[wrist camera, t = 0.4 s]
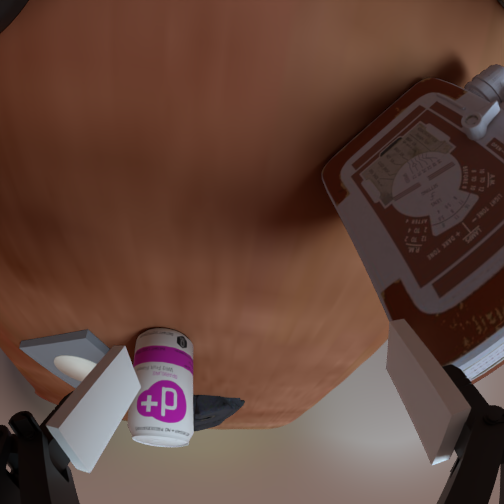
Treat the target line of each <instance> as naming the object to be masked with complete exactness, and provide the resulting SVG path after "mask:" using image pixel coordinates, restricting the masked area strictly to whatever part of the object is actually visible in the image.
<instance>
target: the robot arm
mask: <svg viewBox="0 0 504 504" xmlns="http://www.w3.org/2000/svg"><path fill="white" fill-rule="evenodd" d="M27 1H28V0H0V32H1V31H3V30H4V29H5V28H6V27H7V26H8V25H9V24H10V23H11V22H12V20H13V19H14V18H15V17H16V16H17V15H18V13H19V12H20V11H21V10H22V8H23V7H24V6H25V4H26V3H27ZM386 369H387V371H388V373H389V375H390V377H391V379H392V381H393V383H394V385H395V387H396V389H397V391H398V393H399V395H400V397H401V399H402V401H403V403H404V405H405V407H406V409H407V411H408V414H409V416H410V418H411V420H412V422H413V424H414V426H415V429H416V431H417V433H418V435H419V438H420V440H421V442H422V444H423V446H424V449H425V451H426V453H427V455H428V458H429V460H430V463H431V465H434V464H437V463H440V462H443V461H445V460H448V459H450V457H451V455H452V453H453V451H454V450H455V452H456V453H457V456H458V457H457V460H456V461H455V463H454V466H453V467H452V469H451V471H450V472H451V474H450V476H449V479H448V481H447V483H446V485H445V487H444V490H443V492H442V494H441V496H440V498H439V500H438V502H437V504H488V502H489V499H490V496H491V493H492V490H493V487H494V484H495V480H496V477H497V473H498V470H499V466H500V464H501V475H500V477H501V478H500V499H499V504H504V409H502V408H501V407H499V406H496V405H492V406H491V405H489V404H488V403H487V402H486V401H485V399H484V398H483V397H482V395H481V394H480V393H479V391H478V390H477V389H476V388H475V386H474V385H473V384H472V382H471V381H470V380H469V379H468V378H467V376H466V375H465V374H464V372H463V371H462V370H461V369H460V368H458V367H456V366H454V365H453V364H450V365H446V366H443V367H442V366H441V365H440V364H439V362H438V361H437V360H436V359H435V357H434V356H433V355H432V353H431V352H430V351H429V349H428V348H427V347H426V346H425V344H424V343H423V342H422V341H421V339H420V338H419V337H418V335H417V334H416V333H415V332H414V330H413V329H412V328H411V327H410V326H409V324H408V323H407V322H406V321H405V319H400V320H394V321H389V338H388V353H387V365H386ZM140 388H141V385H140V383H139V380H138V378H137V375H136V373H135V370H134V368H133V365H132V362H131V360H130V357H129V354H128V351H127V349H126V346H113V347H112V348H111V349H110V350H109V351H108V352H107V354H106V355H105V356H104V357H103V358H102V359H101V360H100V361H99V363H98V364H97V365H96V366H95V367H94V368H93V369H92V371H91V372H90V373H89V374H88V375H87V376H86V377H85V379H84V380H83V381H82V382H81V383H80V384H79V386H78V387H77V388H76V389H75V390H74V391H72V392H71V393H69V394H68V395H66V396H65V397H64V398H63V399H62V400H61V401H60V403H59V405H57V406H56V407H55V410H53V411H52V412H51V413H50V414H49V416H48V417H47V418H46V419H45V420H44V421H43V423H42V424H41V425H40V426H39V425H38V423H37V422H36V420H35V419H34V417H33V415H32V414H31V413H30V412H28V411H21V412H18V413H16V414H15V415H13V416H12V417H11V419H10V420H9V423H8V424H9V425H10V426H11V428H12V430H13V431H14V433H15V434H11V432H10V431H9V429H8V428H7V427H6V426H5V425H0V504H80V503H79V500H78V496H77V493H76V489H75V485H74V481H73V477H72V473H71V470H70V468H69V467H68V463H69V462H70V461H71V462H72V463H73V465H74V466H75V467H76V469H78V470H81V471H85V472H88V473H90V472H91V470H92V469H93V467H94V466H95V464H96V462H97V461H98V459H99V457H100V455H101V454H102V452H103V450H104V448H105V447H106V445H107V443H108V442H109V440H110V438H111V437H112V435H113V433H114V432H115V430H116V428H117V427H118V425H119V423H120V421H121V420H122V418H123V416H124V415H125V413H126V411H127V410H128V408H129V406H130V405H131V403H132V402H133V400H134V398H135V397H136V395H137V393H138V392H139V390H140ZM7 464H8V466H9V467H10V468H11V472H10V473H9V472H8V471H7V470H6V465H7Z"/></svg>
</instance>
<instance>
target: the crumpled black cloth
mask: <svg viewBox="0 0 504 504" xmlns="http://www.w3.org/2000/svg"><path fill="white" fill-rule="evenodd" d="M244 402H245V401H244V400H240V398H224V397H220V396H208V395H193V425H194V431H199V430H203V429H207V428H210V427H215V426H217V425H220V424H221V423H222V422H223V421H224V420H225V419H226V418H228V417H230V416H231V415H233V414H234V413H235V412H236V411H237V410H239V408H241V407H242V406H243V405H244Z"/></svg>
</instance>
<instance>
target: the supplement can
mask: <svg viewBox="0 0 504 504" xmlns="http://www.w3.org/2000/svg"><path fill="white" fill-rule="evenodd" d="M133 368H134V370H135V373H136V375H137V378H138V380H139V383H140V385H141V388H140V390H139V392H138V393H137V395H136V397H135V398H134V400H133V402H132V403H131V405H130V406H129V412H128V428H129V430H130V432H131V434H132V439H133V440H135V441H137V442H139V443H143V444H147V445H152V446H160V447H182V446H186V445H188V444H189V440H190V439H191V437H192V435H193V432H194V425H193V344H192V342H191V341H190V340H189V339H188V338H187V337H186V336H185V335H183V334H182V333H180V332H178V331H175V330H172V329H167V328H154V329H149V330H147V331H145V332H144V333H142V334H141V335H139V336H138V338H137V340H136V346H135V354H134V362H133Z"/></svg>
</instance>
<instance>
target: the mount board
mask: <svg viewBox="0 0 504 504" xmlns="http://www.w3.org/2000/svg"><path fill="white" fill-rule="evenodd" d="M19 348H20V349H21V350H22V351H24V352H25V353H26V354H27V355H29V356H30V357H31V358H33V359H34V360H35V361H37V362H38V363H39V364H41V365H42V366H43V367H45V368H46V369H48V370H49V371H50V372H52V373H53V374H55V375H56V376H58V377H59V378H61V379H62V380H64V381H65V382H67V383H68V384H70V385H71V386H73V387H74V388H77V387H78V386H79V384H80V383H81V382H82V381H83V380H84V379H85V377H86V376H87V375H88V374H89V373H90V372H91V371H92V369H93V368H94V367H95V366H96V365H97V364H98V363H99V361H100V360H101V359H102V358H103V357H104V356H105V355H106V354H107V352H108V351H109V350H110V349H109V348H108V347H107V346H106V345H105V344H104V343H102V342H101V341H100V340H99V339H98V338H97V337H96V336H94V335H93V334H92V333H91V332H90V331H89V330H83V331H77V332H72V333H66V334H60V335H55V336H49V337H43V338H37V339H31V340H25V341H21V344H20V347H19Z"/></svg>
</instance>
